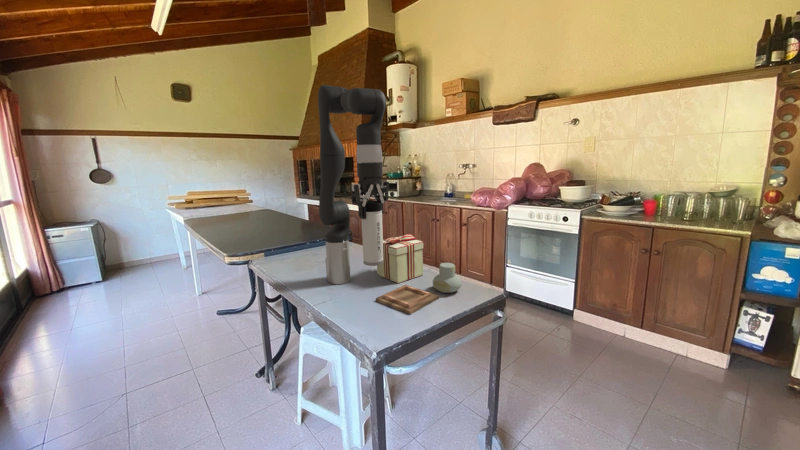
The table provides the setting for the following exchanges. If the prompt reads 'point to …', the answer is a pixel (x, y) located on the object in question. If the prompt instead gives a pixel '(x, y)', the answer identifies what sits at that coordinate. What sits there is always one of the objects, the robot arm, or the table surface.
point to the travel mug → (372, 234)
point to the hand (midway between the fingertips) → (371, 216)
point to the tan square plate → (407, 299)
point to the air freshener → (447, 279)
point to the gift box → (401, 258)
